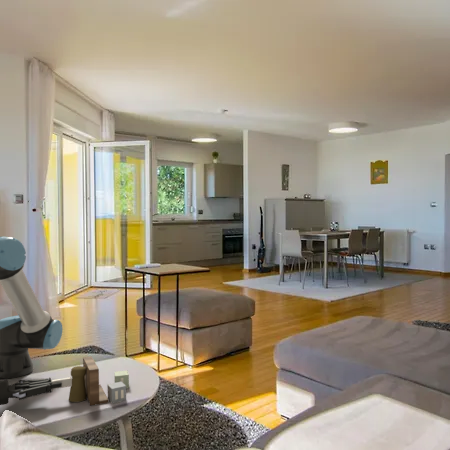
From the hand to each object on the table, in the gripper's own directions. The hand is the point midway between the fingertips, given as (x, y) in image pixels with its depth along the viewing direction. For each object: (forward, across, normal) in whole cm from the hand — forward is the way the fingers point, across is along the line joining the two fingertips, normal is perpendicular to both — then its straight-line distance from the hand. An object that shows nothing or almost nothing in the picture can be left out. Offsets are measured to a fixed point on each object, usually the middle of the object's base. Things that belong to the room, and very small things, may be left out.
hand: (71, 381), depth 155 cm
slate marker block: (+12, +6, -4) cm, 14 cm away
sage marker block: (+18, -5, -2) cm, 19 cm away
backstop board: (+8, 0, -6) cm, 10 cm away
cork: (+2, 0, -7) cm, 7 cm away
